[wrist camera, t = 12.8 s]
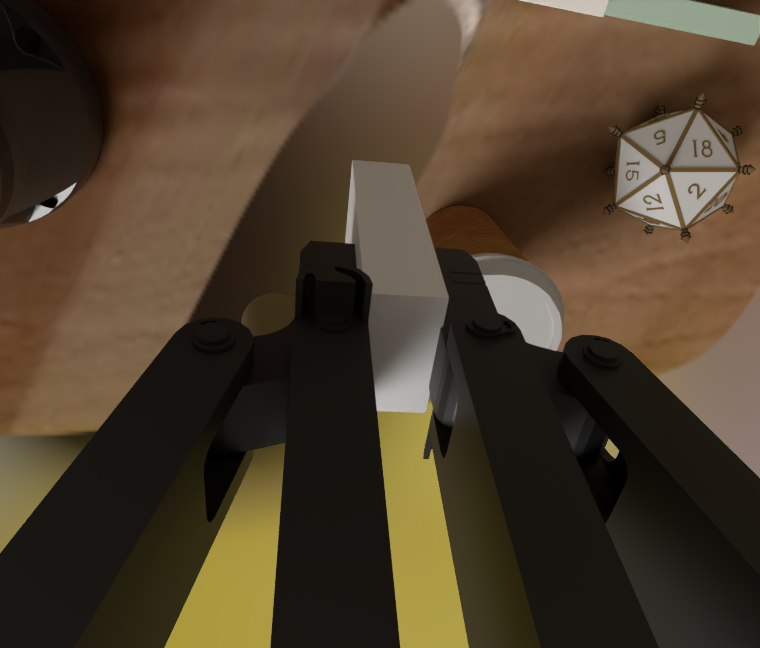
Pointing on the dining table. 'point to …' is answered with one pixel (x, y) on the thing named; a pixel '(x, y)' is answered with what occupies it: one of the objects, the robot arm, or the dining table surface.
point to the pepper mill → (269, 313)
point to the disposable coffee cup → (503, 272)
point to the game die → (675, 169)
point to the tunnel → (673, 16)
